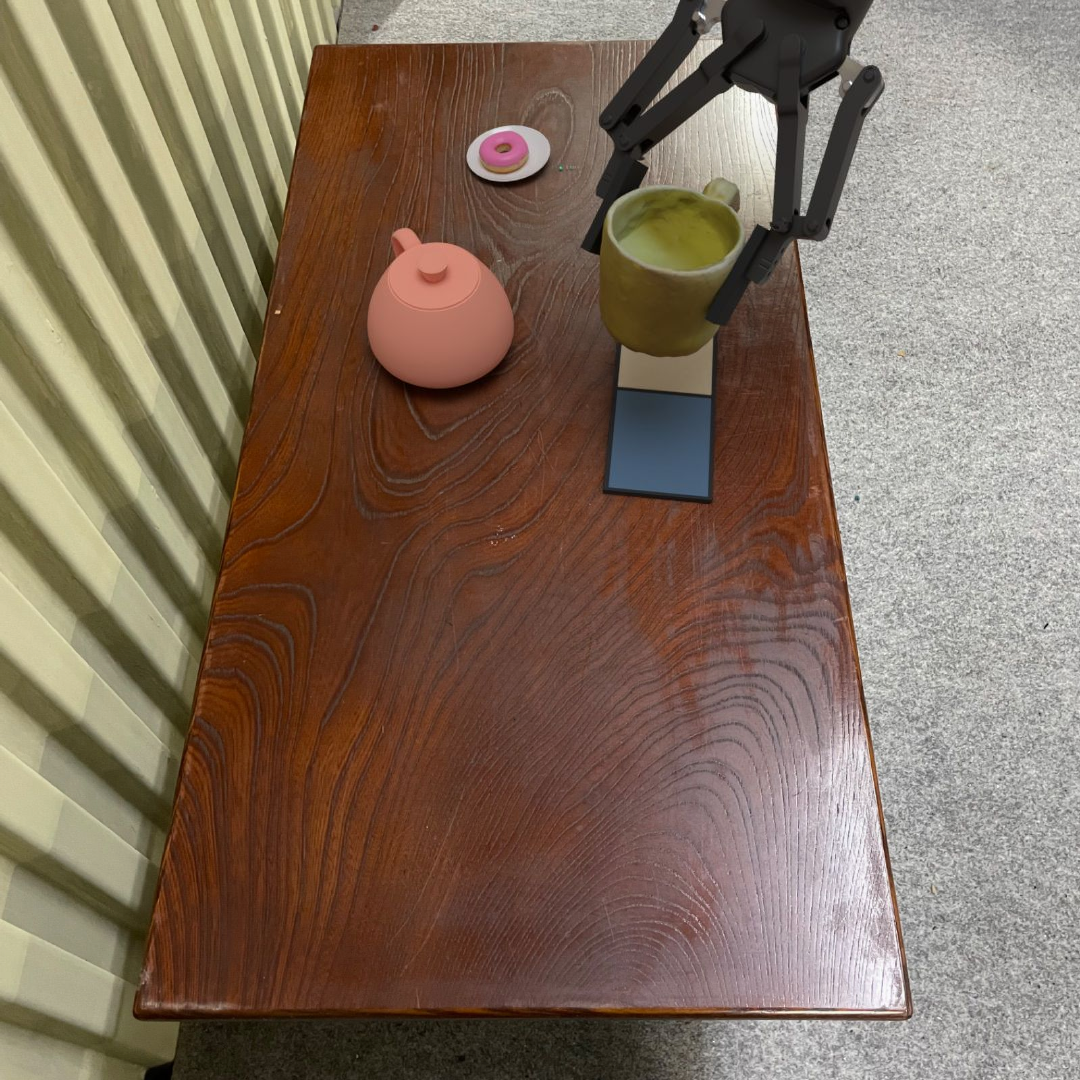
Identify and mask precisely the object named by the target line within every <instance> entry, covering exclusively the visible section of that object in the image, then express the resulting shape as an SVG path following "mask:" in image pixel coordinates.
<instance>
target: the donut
mask: <svg viewBox="0 0 1080 1080" xmlns="http://www.w3.org/2000/svg"><path fill="white" fill-rule="evenodd" d="M550 155H551V145H550V142H549V140H548V138H547V137H546V136H545V135H544V134H543V133H541V132H540V131H539V130H537V129H534V128H532V127H529V126H524V125H517V124H516V125H503V126H498V127H496V128H491V129H490V130H487V131H485V132H483V133H481V134H480V135H478V136H477V137H476V138H475V139H474V140H473V141H472V142H471V143H470V145H469V147H468V149H467V152H466V163H467V164H468V167H469V169H470V170H471V171H472V172H473V173H475V174H476V176H479V177H481V178H483V179H485V180H488V181H494V182H499V183H500V182H501V183H502V182H503V183H504V182H505V183H506V182H513V181H519V180H523V179H525V178H527V177H530V176H533V175H534V174H535V173H537V172H539V170H541V169H542V168H543V167H544V166H545V165H546V163H547V162H548V160H549V158H550ZM568 167H569V169H570V170H571V169H572V170H574V169H575V170H576V169H578V170H579V169H580V166H579V165H577V166H574V167H572V166H571V165H569V166H566V170H568ZM558 170H559V171H562V170H563V167H562V166H559V167H558Z"/></svg>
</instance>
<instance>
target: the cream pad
mask: <svg viewBox="0 0 1080 1080" xmlns="http://www.w3.org/2000/svg"><path fill="white" fill-rule="evenodd" d="M712 357H713V338H712V339H711V340H710V341H709V342H708V343H707V344H706V345H704V346H703V347H702V348H701V349H700V350H698V351H697V352H695V353H693V354H691V355H688V356H681V357H654V356H650V355H647V354H645V353H640V352H634V351H631V350H629V349H627V348H626V347H625V346H623V345H622V347H621V358H620V368H619V379H618V387H624V388H635V389H646V390H657V391H668V392H679V393H690V394H701V395H711V388H712Z"/></svg>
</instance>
